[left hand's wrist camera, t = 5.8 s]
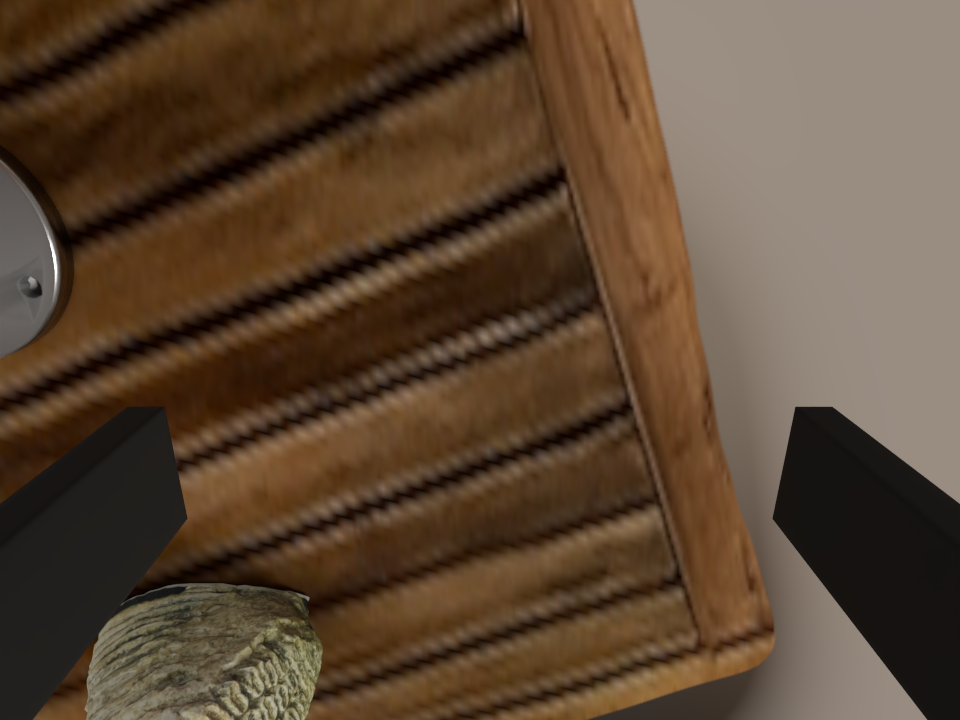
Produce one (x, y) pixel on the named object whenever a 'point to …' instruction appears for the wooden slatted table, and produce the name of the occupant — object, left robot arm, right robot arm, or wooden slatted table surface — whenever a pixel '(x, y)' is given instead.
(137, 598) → the fossil
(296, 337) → the wooden slatted table surface
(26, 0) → the wooden slatted table surface
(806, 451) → the left robot arm
